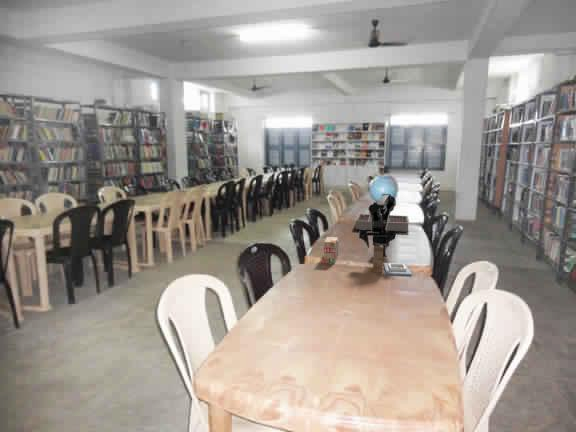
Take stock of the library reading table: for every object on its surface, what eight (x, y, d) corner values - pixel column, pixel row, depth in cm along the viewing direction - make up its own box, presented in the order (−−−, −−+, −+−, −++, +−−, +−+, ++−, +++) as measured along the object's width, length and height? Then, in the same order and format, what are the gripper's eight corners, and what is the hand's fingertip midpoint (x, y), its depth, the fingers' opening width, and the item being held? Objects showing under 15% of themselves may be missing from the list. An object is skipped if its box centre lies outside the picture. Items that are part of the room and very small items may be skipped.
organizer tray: (408, 233, 290) (409, 220, 288) (354, 231, 300) (354, 218, 298) (407, 225, 321) (408, 213, 319) (357, 223, 331) (358, 211, 329)
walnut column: (372, 269, 204) (373, 245, 202) (381, 269, 204) (382, 245, 201) (373, 272, 200) (374, 247, 198) (382, 272, 199) (383, 247, 197)
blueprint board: (383, 264, 213) (383, 259, 212) (406, 265, 211) (406, 260, 211) (386, 274, 195) (386, 270, 195) (411, 275, 194) (411, 271, 193)
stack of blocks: (328, 253, 236) (328, 233, 234) (338, 253, 235) (339, 233, 233) (323, 263, 216) (324, 241, 214) (335, 264, 214) (335, 242, 212)
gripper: (360, 214, 208) (360, 239, 199) (396, 214, 205) (397, 240, 196) (359, 225, 217) (359, 250, 208) (393, 226, 214) (395, 251, 205)
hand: (377, 247), depth 204 cm, fingers open, 9 cm apart
